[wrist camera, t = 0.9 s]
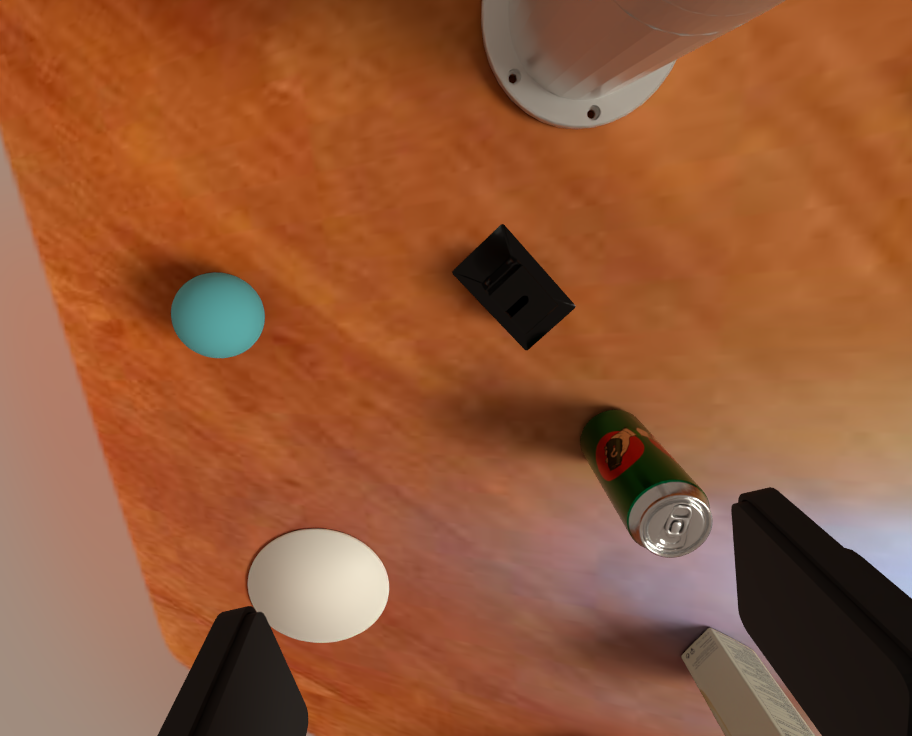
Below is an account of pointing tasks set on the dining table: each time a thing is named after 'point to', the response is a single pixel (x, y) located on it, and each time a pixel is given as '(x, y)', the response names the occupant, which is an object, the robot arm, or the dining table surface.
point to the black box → (513, 287)
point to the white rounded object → (318, 585)
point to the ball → (217, 315)
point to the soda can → (646, 485)
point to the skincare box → (741, 689)
